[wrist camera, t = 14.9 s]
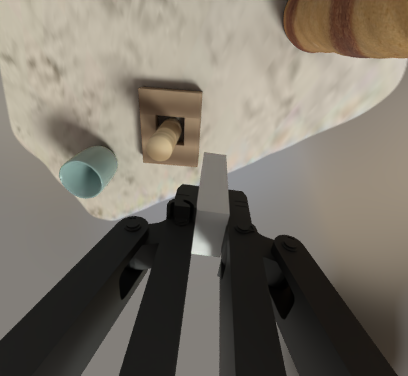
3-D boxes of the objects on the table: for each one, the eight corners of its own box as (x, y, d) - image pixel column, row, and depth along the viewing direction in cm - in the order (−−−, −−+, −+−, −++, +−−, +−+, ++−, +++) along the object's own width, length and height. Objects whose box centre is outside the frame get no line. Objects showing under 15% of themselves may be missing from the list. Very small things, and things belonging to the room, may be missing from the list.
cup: (104, 134, 48) (79, 152, 39) (129, 164, 51) (111, 187, 42) (78, 152, 50) (49, 173, 41) (104, 180, 53) (82, 205, 45)
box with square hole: (142, 86, 43) (138, 88, 40) (202, 91, 42) (201, 93, 40) (146, 157, 50) (143, 162, 48) (198, 162, 50) (197, 167, 47)
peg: (162, 116, 45) (145, 135, 35) (182, 118, 45) (171, 137, 35) (162, 136, 47) (146, 160, 37) (182, 138, 47) (172, 162, 37)
